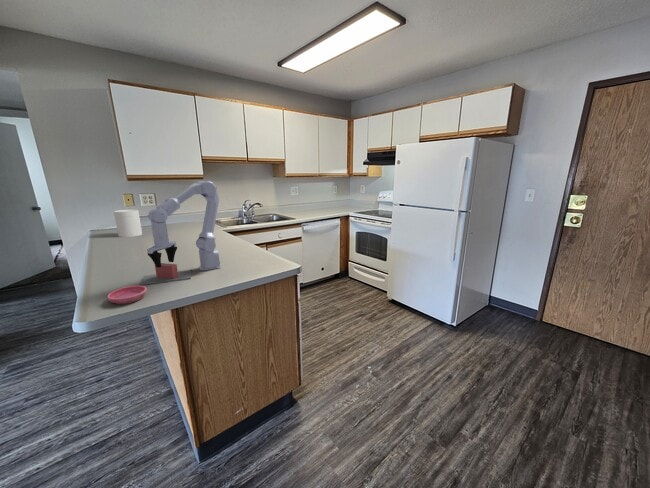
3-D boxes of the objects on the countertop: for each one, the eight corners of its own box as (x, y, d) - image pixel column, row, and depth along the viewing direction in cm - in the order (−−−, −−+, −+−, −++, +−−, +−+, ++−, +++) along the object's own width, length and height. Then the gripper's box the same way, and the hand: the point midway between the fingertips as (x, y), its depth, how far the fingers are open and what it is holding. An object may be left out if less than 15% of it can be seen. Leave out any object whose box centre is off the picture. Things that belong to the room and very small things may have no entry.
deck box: (161, 275, 125) (159, 263, 124) (178, 276, 124) (176, 264, 122) (156, 277, 123) (154, 265, 121) (173, 278, 121) (171, 266, 119)
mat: (191, 270, 133) (191, 269, 133) (190, 278, 122) (190, 277, 122) (144, 276, 125) (144, 275, 124) (138, 285, 114) (138, 284, 114)
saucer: (120, 309, 94) (119, 301, 93) (101, 302, 99) (99, 294, 98) (155, 295, 105) (153, 288, 104) (136, 290, 110) (134, 283, 109)
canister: (146, 234, 219) (142, 210, 214) (125, 237, 205) (120, 212, 200) (135, 232, 226) (131, 209, 221) (114, 235, 212) (109, 211, 208)
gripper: (155, 239, 111) (160, 270, 114) (180, 232, 125) (183, 260, 128) (140, 238, 112) (146, 269, 115) (167, 232, 126) (171, 259, 129)
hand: (165, 264), depth 122 cm, fingers open, 7 cm apart
